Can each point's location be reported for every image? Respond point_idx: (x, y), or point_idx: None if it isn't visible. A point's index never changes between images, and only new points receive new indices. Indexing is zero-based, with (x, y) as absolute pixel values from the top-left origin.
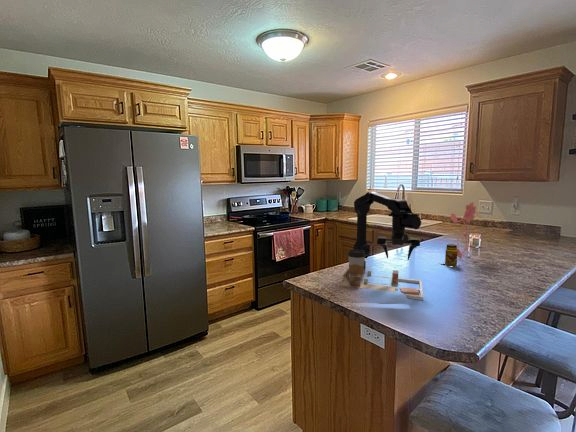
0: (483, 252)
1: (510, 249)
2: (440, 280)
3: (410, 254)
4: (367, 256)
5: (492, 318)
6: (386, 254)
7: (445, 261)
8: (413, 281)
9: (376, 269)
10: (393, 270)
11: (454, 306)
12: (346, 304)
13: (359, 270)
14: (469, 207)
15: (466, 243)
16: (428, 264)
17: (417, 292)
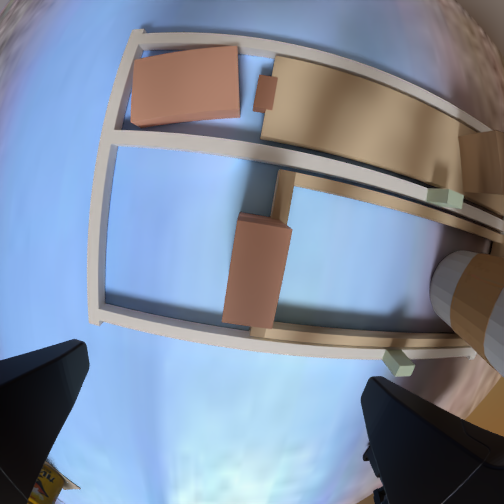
0: None
1: None
2: (33, 350)
3: (3, 360)
4: (376, 496)
5: (12, 12)
6: (422, 401)
7: (59, 485)
8: (131, 313)
9: (314, 461)
10: (268, 321)
11: (49, 33)
12: (452, 7)
13: (497, 264)
14: None
15: None
16: (106, 492)
17: (143, 58)
